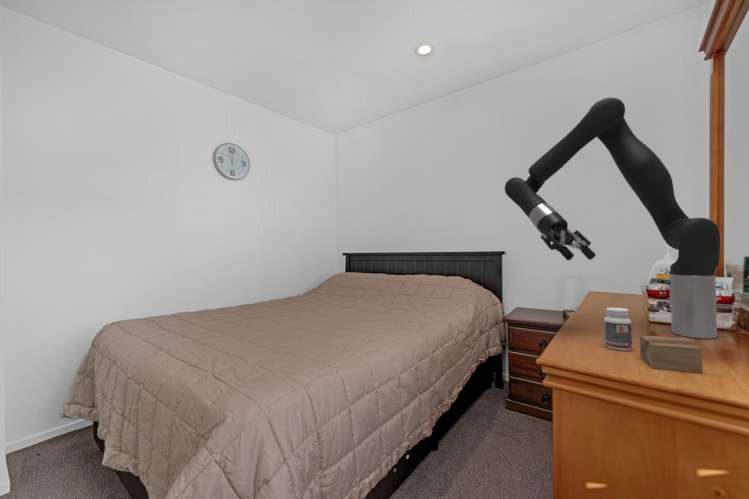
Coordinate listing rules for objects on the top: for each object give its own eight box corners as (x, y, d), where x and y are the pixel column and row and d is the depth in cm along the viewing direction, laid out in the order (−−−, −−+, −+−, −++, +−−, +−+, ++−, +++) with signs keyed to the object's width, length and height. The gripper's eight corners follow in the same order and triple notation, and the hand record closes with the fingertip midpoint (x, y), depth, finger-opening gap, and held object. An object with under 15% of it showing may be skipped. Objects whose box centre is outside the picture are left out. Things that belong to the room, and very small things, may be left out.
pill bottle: (637, 351, 80) (636, 311, 80) (611, 350, 81) (610, 311, 81) (624, 344, 85) (623, 307, 85) (600, 344, 86) (599, 307, 86)
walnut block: (640, 356, 76) (639, 335, 76) (684, 360, 73) (684, 338, 73) (652, 368, 69) (651, 344, 69) (702, 373, 66) (701, 348, 66)
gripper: (536, 210, 97) (572, 248, 86) (571, 212, 102) (609, 248, 91) (523, 229, 102) (555, 267, 91) (556, 229, 107) (591, 266, 96)
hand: (582, 257), depth 91 cm, fingers open, 8 cm apart
